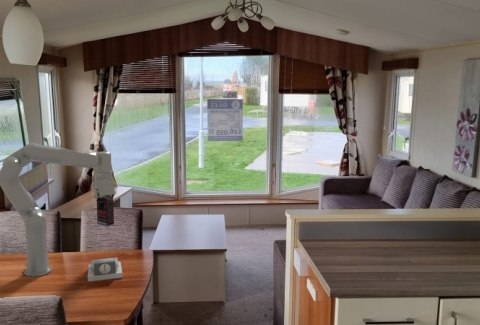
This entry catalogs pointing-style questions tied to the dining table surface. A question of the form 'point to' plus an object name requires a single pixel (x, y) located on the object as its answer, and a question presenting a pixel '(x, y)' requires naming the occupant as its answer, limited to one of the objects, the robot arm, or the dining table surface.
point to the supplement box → (106, 212)
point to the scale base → (104, 271)
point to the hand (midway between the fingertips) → (105, 208)
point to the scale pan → (103, 261)
